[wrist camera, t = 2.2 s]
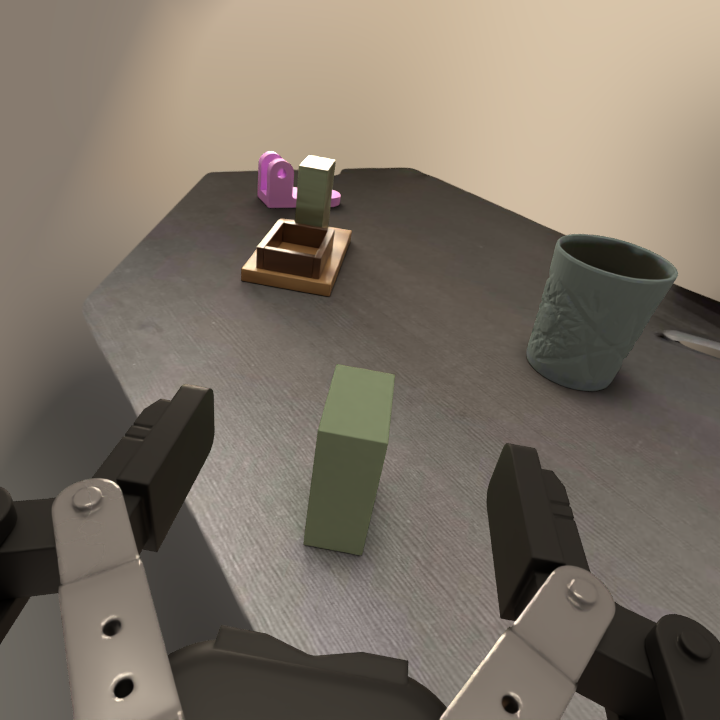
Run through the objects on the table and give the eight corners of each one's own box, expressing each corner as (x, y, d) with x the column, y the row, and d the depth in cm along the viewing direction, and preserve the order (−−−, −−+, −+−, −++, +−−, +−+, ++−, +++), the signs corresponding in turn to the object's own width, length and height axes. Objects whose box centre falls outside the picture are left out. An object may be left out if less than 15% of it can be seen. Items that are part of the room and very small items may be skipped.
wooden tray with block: (329, 296, 56) (340, 202, 51) (240, 280, 57) (242, 185, 51) (350, 240, 72) (361, 163, 66) (280, 228, 72) (284, 149, 66)
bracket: (268, 207, 78) (270, 160, 74) (257, 196, 82) (259, 150, 78) (344, 206, 84) (350, 162, 80) (331, 195, 88) (335, 153, 84)
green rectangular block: (361, 556, 30) (388, 443, 25) (303, 544, 30) (317, 430, 25) (371, 480, 35) (395, 374, 30) (321, 471, 35) (336, 363, 30)
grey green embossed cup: (628, 368, 53) (685, 260, 46) (605, 412, 46) (669, 292, 39) (535, 329, 57) (575, 225, 50) (501, 364, 50) (542, 248, 43)
